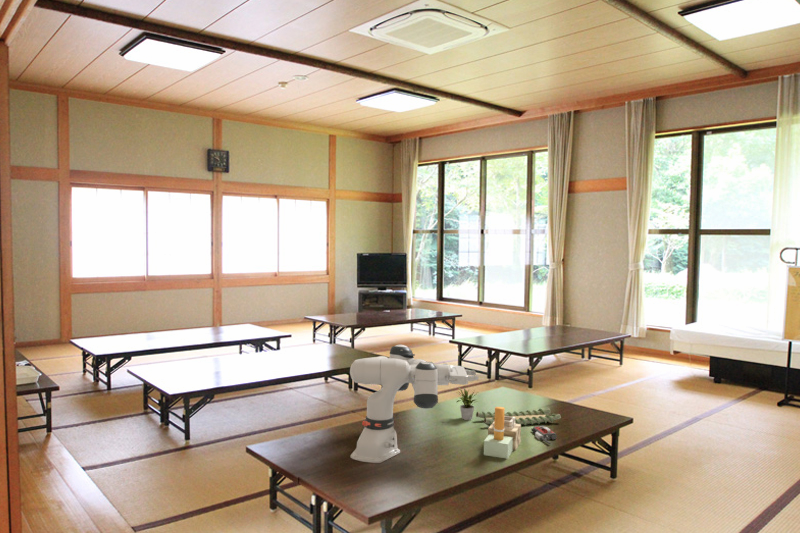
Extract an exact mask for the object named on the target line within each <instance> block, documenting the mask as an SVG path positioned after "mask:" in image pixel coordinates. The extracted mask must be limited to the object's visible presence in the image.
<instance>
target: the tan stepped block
mask: <svg viewBox="0 0 800 533" xmlns="http://www.w3.org/2000/svg"><path fill="white" fill-rule="evenodd" d="M494 422H495V420H494ZM494 422H493V423H492V424H491V425H490V424H489V427H488V428H487V436H488V435H489V434H494ZM504 436H509V437H513V451H516V450H517V449H518V447H519V446H520V444H521V442H522V441H521V439H522V438H521V436H522V425H521V424H516V423H515V417H510V416H504Z"/></svg>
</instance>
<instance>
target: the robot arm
mask: <svg viewBox="0 0 800 533" xmlns="http://www.w3.org/2000/svg"><path fill="white" fill-rule="evenodd" d="M415 356H416V354H415V353H413V350H412V349H411V347H409V346H407V345H406V344H397V345H393V346H391V348H390V351H389V357H387V356H385V355H379V356H374V357H373V356H372V357H365V358H359V359H355V360H354V361H353V362H352V363H351V365H350V368H349V374H350V378H351V380H352V381H353V382H354V383H356V384H362V385H373V386H374V385H380V386H382V387H381V388H380V389H379V390H377V391H375V392H373V393H371V394H370V395H369V396H368V398H367V400H366V416H365V419H364V420H363V421H362V422H361V424H362V426H363V427H364V428H363V430H362V432H361V433H360V435H359V438H358V440H356V448H355V449H354V450H353V452H352V453H351V454H350V458H351V459H352V460H355V461H359V462H362V463H363V462H364V463H373V464H378V463H379V464H380V463H381V464H382V463H383V462H385V461H387V460H389V459H390V458H393V457H394V456H396V455H398V454H400V453H401V449H399V448H398V437H397V436H398V435H397V431H396V429H395V428H394V426H395V423H394V422H395V417H394V405H395V404H394V403H395V398H396V394H397V393H398V392H403V391H406V390H407V389H408V388H409V385H410V384H411V385H412V389H413V391H414V392H413V403H414V404H415V406H417V408H420V409H423V410H424V409H425V410H426V409H428V410H429V409H433V408H434V407H435V406H437V404H438V403H439V396H438V395H439V392H438V389H439V386H449V383H450V384H451V385H462V386H463V385H464V386H465V385H468V384H469V382H473V381H479V376H478V375H476V372H477V371H476V370H470V369H465V366H462V365H455V364H454V365H453V364H448V363H441V364H440V363H439V364H434V362H432V361H426V360H424V359H421V358H414V357H415Z"/></svg>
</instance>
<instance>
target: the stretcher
mask: <svg viewBox="0 0 800 533" xmlns="http://www.w3.org/2000/svg"><path fill="white" fill-rule="evenodd" d="M549 414H551V409H550V408H545V409H543V408H539V409H537V410H536V409H533V410H532V411H530V410H529V409H528V410H526V411H523V410H522V411H519V412H517V411H513V412H512V413H511V411H508V412H506V413H505V412H504V416H510V417H515V423H516V424H521V426H522V425H524V426H527V425H531V426H533V425H534V424H537V425H540V424H541V423H545V424H547V422H550V423H554V421H556V420H559V419H561V418H562V416H561V414H559V413H558V414H556V413H552V414H551V416H550V415H549ZM475 417H476V418H481V419H483V423H484V424H489V426H490V425H491V424H492V423H493V422H494V420H495V411H494V412H491V411H487V412H484V411H481V412H480V411H477V412H476V414H475Z"/></svg>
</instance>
